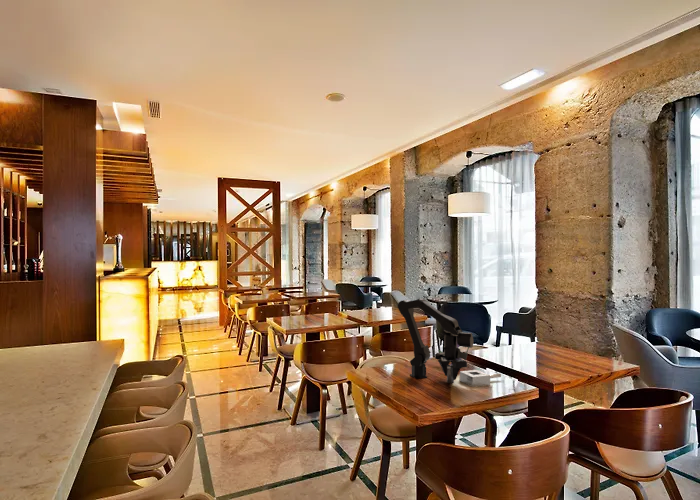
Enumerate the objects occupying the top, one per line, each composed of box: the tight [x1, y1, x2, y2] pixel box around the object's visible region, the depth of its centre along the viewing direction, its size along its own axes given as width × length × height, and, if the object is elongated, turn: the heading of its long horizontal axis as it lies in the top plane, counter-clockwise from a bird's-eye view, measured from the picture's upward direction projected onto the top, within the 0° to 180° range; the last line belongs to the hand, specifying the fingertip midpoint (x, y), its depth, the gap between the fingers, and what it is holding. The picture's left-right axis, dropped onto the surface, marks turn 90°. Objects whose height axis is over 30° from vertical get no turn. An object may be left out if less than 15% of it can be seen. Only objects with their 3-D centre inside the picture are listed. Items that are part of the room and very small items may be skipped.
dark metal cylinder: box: [446, 364, 455, 384], centre depth 192 cm, size 3×3×8 cm
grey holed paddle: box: [459, 369, 502, 388], centre depth 193 cm, size 20×10×4 cm, turn 110°
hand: (450, 377), depth 191 cm, fingers open, 7 cm apart
